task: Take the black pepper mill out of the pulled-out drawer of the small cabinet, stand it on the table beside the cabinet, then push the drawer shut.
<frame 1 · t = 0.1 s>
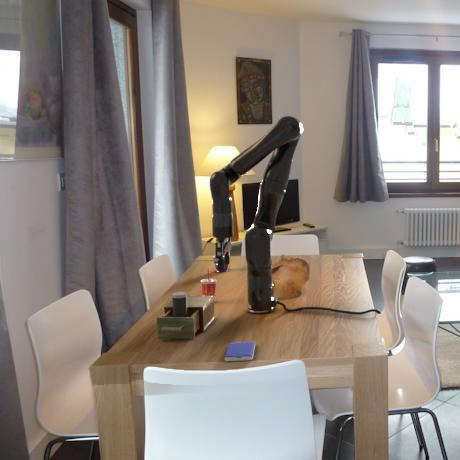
hand: (224, 266, 236), 17 cm above the table, tool pointing down, fingers open, 8 cm apart
drawer: (179, 324, 208), point 4 cm above the table, slide at 8.0 cm, touching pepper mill
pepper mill: (180, 329, 210), point 2 cm above the table, touching drawer
potion bottle: (222, 270, 303), on the table
hard drive: (240, 354, 195), on the table
beverage cup: (209, 302, 249), on the table
cabinet: (190, 325, 221), on the table
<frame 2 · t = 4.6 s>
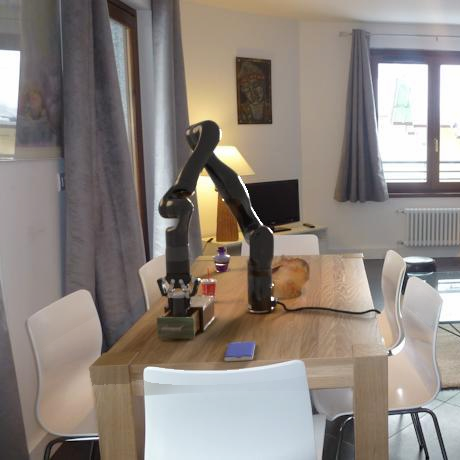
hand: (179, 308, 208), 10 cm above the table, tool pointing down, fingers closed on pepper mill, 4 cm apart
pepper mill: (180, 329, 210), point 2 cm above the table, touching drawer, gripper
everything else where it was.
when the fingers open (7 cm above the table, at t = 11.9 s): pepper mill stays where it is, on the table.
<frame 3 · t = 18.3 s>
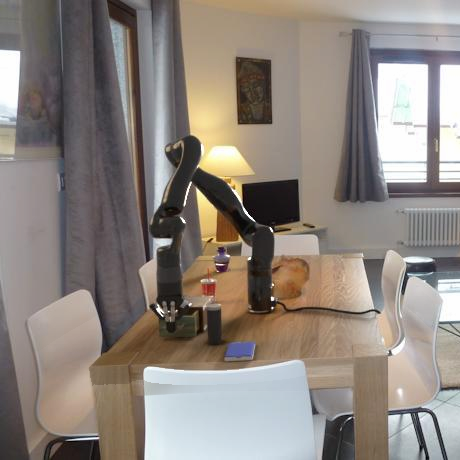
hand: (171, 332, 200), 5 cm above the table, tool pointing down, fingers closed
drawer: (181, 322, 210), point 4 cm above the table, slide at 6.5 cm
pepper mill: (215, 342, 204), on the table
everything else where it was.
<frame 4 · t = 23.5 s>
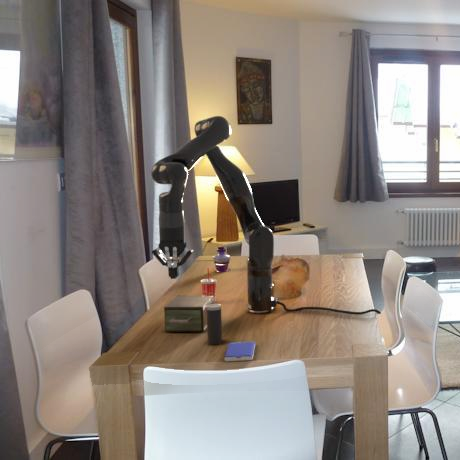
hand: (174, 278, 202), 21 cm above the table, tool pointing down, fingers closed
drawer: (186, 316, 216), point 4 cm above the table, slide at 0.0 cm, touching cabinet
everything else where it was.
at the end: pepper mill inside the target area (0.2 cm from its centre), on the table; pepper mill tilted 0°; drawer slide at 0.0 cm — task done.
